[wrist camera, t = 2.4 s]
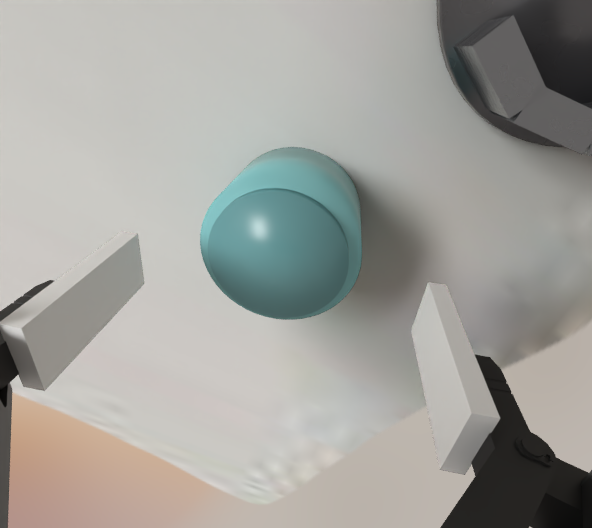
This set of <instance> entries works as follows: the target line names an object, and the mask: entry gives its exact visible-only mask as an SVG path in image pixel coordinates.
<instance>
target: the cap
mask: <svg viewBox="0 0 592 528" xmlns="http://www.w3.org/2000/svg"><path fill="white" fill-rule="evenodd" d="M200 245H201V253H202V257H203V260H204V263H205V266H206V268H207V270H208V272H209V274H210V276H211V278H212V279H213V280H214V282H215V283H216V285H217V286H218V287H219V288H220V289H221V290H222V292H223V293H224V294H226V295H227V296H228V297H229V298H230V299H231V300H233V301H234V302H236V303H237V304H238V305H240V306H242V307H244V308H245V309H247V310H249V311H252V312H254V313H256V314H259V315H262V316H266V317H270V318H276V319H292V320H293V319H303V318H307V317H312V316H315V315H318V314H321V313H323V312H325V311H327V310H329V309H330V308H332V307H334V306H335V305H336V304H338V303H339V302H340V301H341V300H342V299H343V298H344V297H345V296H346V295H347V294H348V293H349V291H350V290H351V289H352V287H353V286H354V284H355V282H356V279H357V277H358V274H359V271H360V268H361V261H362V242H361V212H360V201H359V197H358V193H357V190H356V188H355V186H354V184H353V182H352V180H351V179H350V177H349V175H348V174H347V173H346V172H345V171H344V169H343V168H342V167H341V166H339V165H338V164H337V163H336V162H335V161H333V160H332V159H330V158H329V157H327V156H325V155H323V154H321V153H319V152H316V151H313V150H310V149H305V148H298V147H288V148H280V149H275V150H272V151H269V152H267V153H265V154H263V155H261V156H259V157H257V158H256V159H255V160H253V161H252V162H251V163H250V164H249V165H248V166H247V167H246V168H245V169H244V170H243V171H242V172H241V173H240V174H239V175H238V176H237V177H236V178H235V179H234V180H233V181H232V182H231V183H230V184H229V186H228V187H227V188H226V189H225V190H224V191H223V192H222V193H221V194H220V195H219V196H218V197H217V198H216V199H215V200H214V202H213V203H212V204H211V206H210V207H209V209H208V211H207V213H206V215H205V217H204V220H203V223H202V228H201V234H200Z"/></svg>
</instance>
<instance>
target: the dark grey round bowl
mask: <svg viewBox="0 0 592 528" xmlns="http://www.w3.org/2000/svg"><path fill="white" fill-rule="evenodd" d="M437 26H438V33H439V40H440V47H441V50H442V54H443V57H444V61H445V64H446V67H447V70H448V72H449V74H450V76H451V78H452V81H453V83H454V85H455V86H456V88H457V89H458V91H459V93H460V94H461V96H462V97H463V99H464V100H465V101H466V102H467V103H468V104H469V106H470V107H471V108H472V109H473V110H474V111H475V112H476V113H477V114H478V115H480V116H481V117H482V118H483V119H485V120H486V121H487V122H488V123H490V124H492V125H493V126H495V127H497V128H499V129H501V130H502V131H504V132H506V133H508V134H510V135H512V136H514V137H517V138H520V139H522V140H525V141H528V142H532V143H537V144H541V145H546V146H557V147H567V148H569V149H571V150H573V151H575V152H578V153H580V154H583V153H584V154H587V155H592V0H437Z"/></svg>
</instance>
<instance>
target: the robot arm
mask: <svg viewBox="0 0 592 528" xmlns="http://www.w3.org/2000/svg"><path fill="white" fill-rule="evenodd" d="M143 284H144V277H143V270H142V262H141V255H140V247H139V239H138V234H137V233H131V232H125V231H121V232H120V233H118V234H117V235H116V236H114V237H113V238H112V239H110V240H109V241H108V242H106V243H105V244H104V245H102V246H101V247H100V248H98V249H97V250H96V251H94V252H93V253H92V254H90V255H89V256H88V257H86V258H85V259H84V260H82V261H81V262H79V263H78V264H77V265H75V266H74V267H73V268H71V269H70V270H69V271H67V272H66V273H65V274H63V275H62V276H61V277H59V278H58V279H57V280H55V281H52V280H49V281H47V282H45V283H42V284H40V285H38V286H35V287H34V288H32V289H31V290H30V291H28V292H27V293H25V294H24V296H23V297H22V296H21V297H20V298H18V299H17V300H16V301H14V303H12V304H10V305H9V306H7V307H6V308H5V309H3V310H2V311H0V528H8V501H9V471H10V440H11V410H12V388H11V385H10V382H11V381H12V380H13V379H14V378H15V377H16V376H17V375H19V377H20V380H21V382H22V384H23V387H28V388H33V389H38V390H43V391H45V390H46V389H47V388H48V387H49V386H50V385H51V383H52V382H53V381H54V380H55V379H56V378H57V377H58V376H59V375H60V374H61V373H62V372H63V371H64V370H65V368H66V367H67V366H68V365H69V364H70V363H71V362H72V361H73V360H74V359H75V358H76V357H77V356H78V354H79V353H80V352H81V351H82V350H83V349H84V348H85V347H86V346H87V345H88V344H89V343H90V342H91V340H92V339H93V338H94V337H95V336H96V335H97V334H98V333H99V332H100V331H101V330H102V329H103V328H104V326H105V325H106V324H107V323H108V322H109V321H110V320H111V319H112V318H113V317H114V316H115V315H116V314H117V312H118V311H119V310H120V309H121V308H122V307H123V306H124V305H125V304H126V303H127V302H128V301H129V300H130V298H131V297H132V296H133V295H134V294H135V293H136V292H137V291H138V290H139V289H140V288H141V287H142V286H143ZM411 333H412V338H413V342H414V347H415V352H416V357H417V362H418V366H419V371H420V376H421V381H422V386H423V391H424V395H425V400H426V405H427V410H428V415H429V419H430V424H431V429H432V434H433V439H434V444H435V448H436V453H437V458H438V462H439V468H440V470H443V471H448V472H453V473H459V474H464V475H465V474H466V472H467V470H468V469H469V467H470V466H471V464H472V466H473V469H474V472H475V476H476V477H475V478H474V480H473V481H472V482H471V484H470V485H469V487H468V488H467V490H466V491H465V493H464V494H463V496H462V497H461V499H460V500H459V501H458V503H457V504H456V506H455V507H454V509H453V510H452V512H451V513H450V515H449V516H448V517H447V519H446V520H445V522H444V523H443V525H442V526H441V528H529V526H530V527H532V528H592V470H591V472H590V473H588V472H586V471H583V470H581V469H579V468H577V467H574V466H572V465H570V464H568V463H566V462H564V461H562V460H560V459H558V458H556V457H555V454H554V452H553V451H552V449H551V448H550V447H549V446H548V444H547V443H546V442H544V441H543V440H542V439H541V438H539V437H538V436H537V435H535V434H533V433H531V432H530V430H529V429H528V426H527V424H526V422H525V420H524V418H523V416H522V413H521V411H520V409H519V407H518V405H517V403H516V401H515V399H514V396H513V395H512V394H511V390H510V388H509V386H508V384H506V379H505V377H504V375H503V373H502V371H501V369H500V368H499V367H498V366H497V365H496V364H495V362H494V361H493V360H492V359H491V358H490V357H485V356H479V355H475V354H474V352H473V349H472V347H471V345H470V342H469V340H468V337H467V335H466V332H465V330H464V327H463V325H462V322H461V320H460V317H459V315H458V312H457V310H456V307H455V305H454V302H453V300H452V297H451V295H450V293H449V290H448V288H447V285H444V284H438V283H432V282H428V284H427V287H426V290H425V293H424V296H423V298H422V301H421V304H420V307H419V309H418V312H417V315H416V318H415V321H414V323H413V326H412V329H411Z"/></svg>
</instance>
